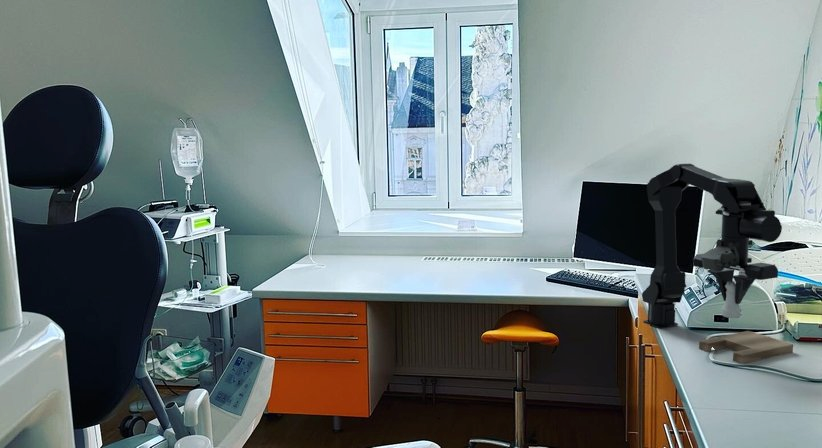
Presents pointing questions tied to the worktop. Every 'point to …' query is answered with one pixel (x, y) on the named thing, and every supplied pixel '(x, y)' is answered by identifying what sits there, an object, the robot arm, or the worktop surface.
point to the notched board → (748, 346)
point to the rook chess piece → (731, 302)
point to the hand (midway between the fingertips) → (731, 302)
